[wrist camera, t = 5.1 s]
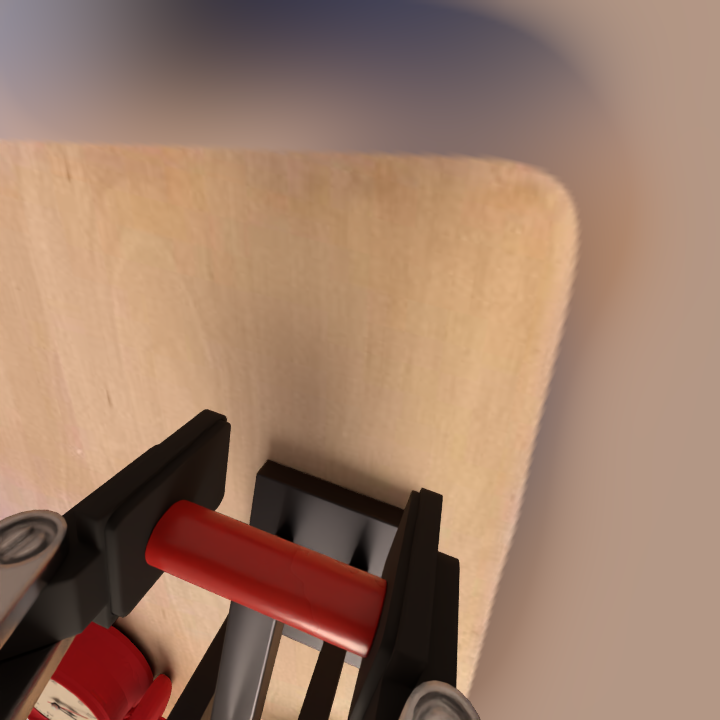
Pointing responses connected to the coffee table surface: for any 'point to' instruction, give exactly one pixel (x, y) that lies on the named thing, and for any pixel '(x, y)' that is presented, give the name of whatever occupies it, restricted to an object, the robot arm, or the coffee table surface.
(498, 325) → the coffee table surface
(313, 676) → the black lever base
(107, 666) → the alarm clock
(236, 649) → the red handled lever
